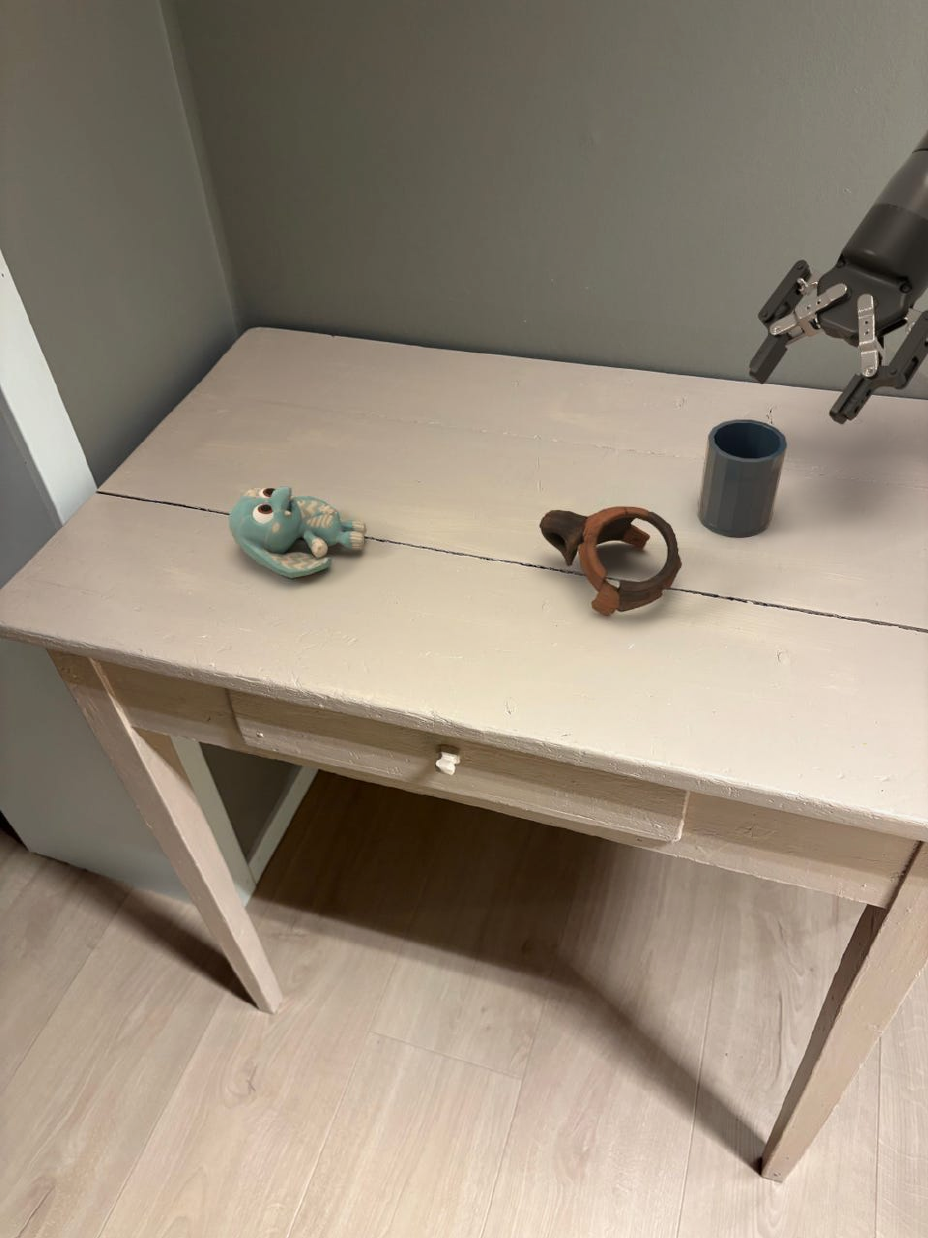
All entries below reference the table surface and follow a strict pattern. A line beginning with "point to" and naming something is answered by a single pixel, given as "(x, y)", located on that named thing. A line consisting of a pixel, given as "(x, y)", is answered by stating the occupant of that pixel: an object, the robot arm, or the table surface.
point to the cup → (741, 477)
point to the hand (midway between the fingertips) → (794, 399)
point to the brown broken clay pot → (601, 527)
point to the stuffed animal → (290, 530)
